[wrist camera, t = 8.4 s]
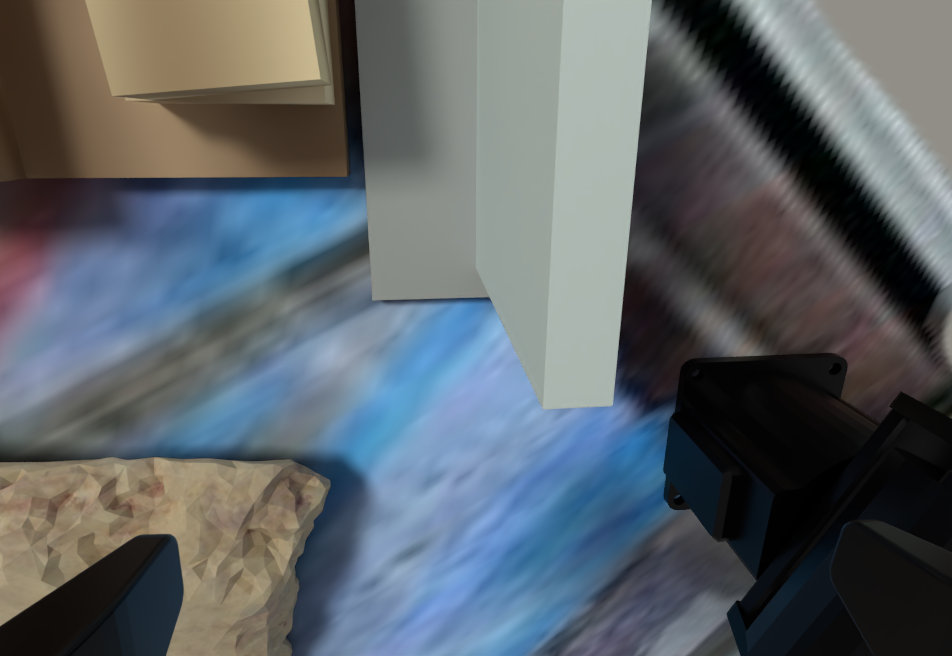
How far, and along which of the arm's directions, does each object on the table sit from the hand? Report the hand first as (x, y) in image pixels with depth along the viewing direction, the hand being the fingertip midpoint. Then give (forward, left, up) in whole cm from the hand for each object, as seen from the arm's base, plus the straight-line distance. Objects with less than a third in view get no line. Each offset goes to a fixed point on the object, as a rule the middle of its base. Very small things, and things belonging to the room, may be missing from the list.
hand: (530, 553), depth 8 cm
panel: (-1, -6, -12) cm, 14 cm away
